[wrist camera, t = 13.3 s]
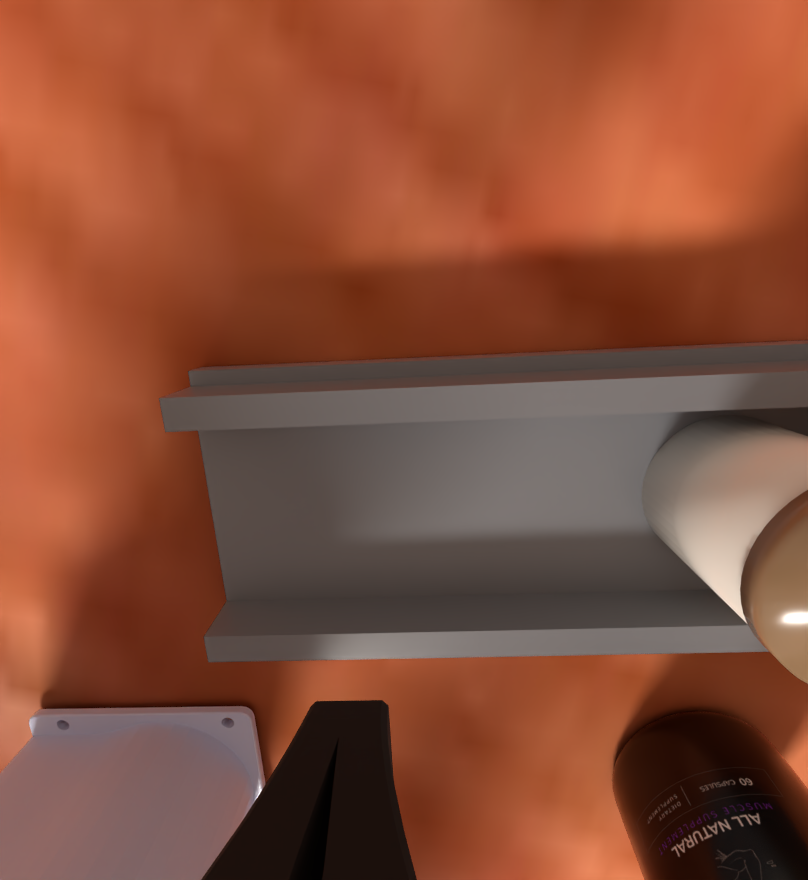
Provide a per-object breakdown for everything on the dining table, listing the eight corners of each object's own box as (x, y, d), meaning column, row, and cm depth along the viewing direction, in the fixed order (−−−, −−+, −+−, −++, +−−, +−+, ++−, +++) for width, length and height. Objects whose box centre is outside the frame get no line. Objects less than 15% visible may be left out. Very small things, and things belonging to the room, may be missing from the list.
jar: (641, 566, 17) (759, 708, 11) (635, 424, 16) (767, 499, 10) (795, 547, 17) (1003, 682, 11) (804, 399, 15) (1048, 462, 9)
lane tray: (241, 619, 19) (166, 753, 14) (201, 367, 17) (86, 401, 11) (867, 604, 18) (1074, 744, 13) (934, 334, 16) (1234, 353, 10)
